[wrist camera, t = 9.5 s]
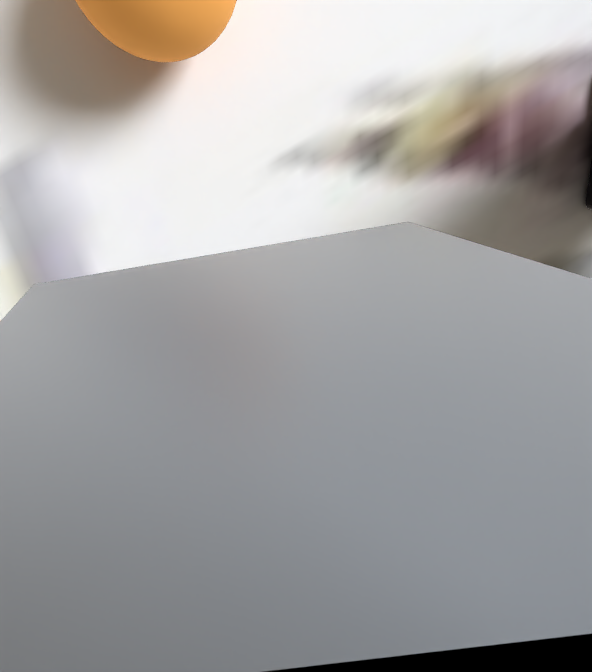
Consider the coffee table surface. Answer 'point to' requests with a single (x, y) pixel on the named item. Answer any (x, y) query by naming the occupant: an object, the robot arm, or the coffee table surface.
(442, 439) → the slate cube crate
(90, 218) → the coffee table surface
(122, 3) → the ball
